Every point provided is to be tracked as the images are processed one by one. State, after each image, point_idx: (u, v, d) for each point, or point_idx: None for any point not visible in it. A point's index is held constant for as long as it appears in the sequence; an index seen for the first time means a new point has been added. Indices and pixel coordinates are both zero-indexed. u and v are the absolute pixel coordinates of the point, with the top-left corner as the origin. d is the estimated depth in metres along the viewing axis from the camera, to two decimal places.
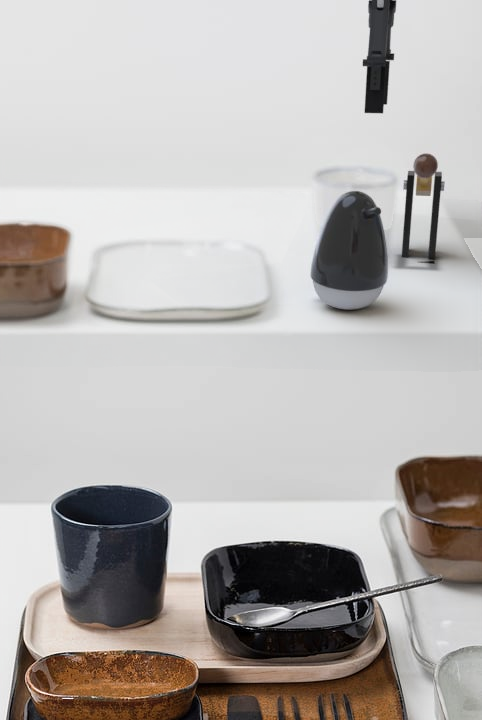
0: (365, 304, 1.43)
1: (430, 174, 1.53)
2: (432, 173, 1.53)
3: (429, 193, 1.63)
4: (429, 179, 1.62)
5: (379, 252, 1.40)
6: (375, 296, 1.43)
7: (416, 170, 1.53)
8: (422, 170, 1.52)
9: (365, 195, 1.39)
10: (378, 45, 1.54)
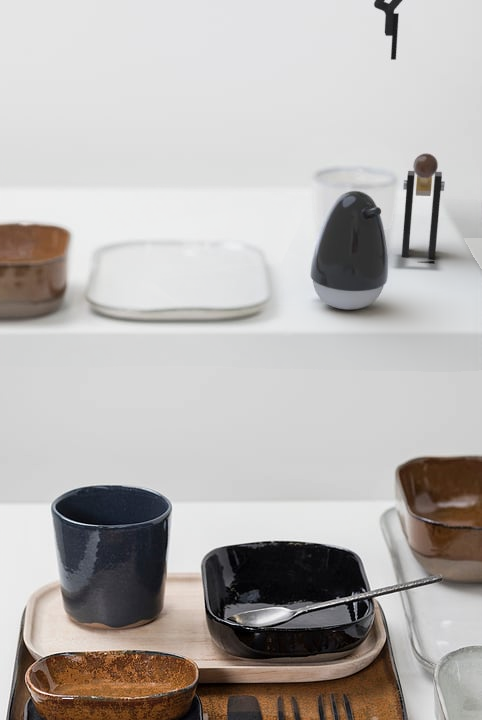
0: (365, 304, 1.43)
1: (430, 174, 1.53)
2: (432, 173, 1.53)
3: (429, 193, 1.63)
4: (429, 179, 1.62)
5: (379, 252, 1.40)
6: (375, 296, 1.43)
7: (416, 170, 1.53)
8: (422, 170, 1.52)
9: (365, 195, 1.39)
10: None
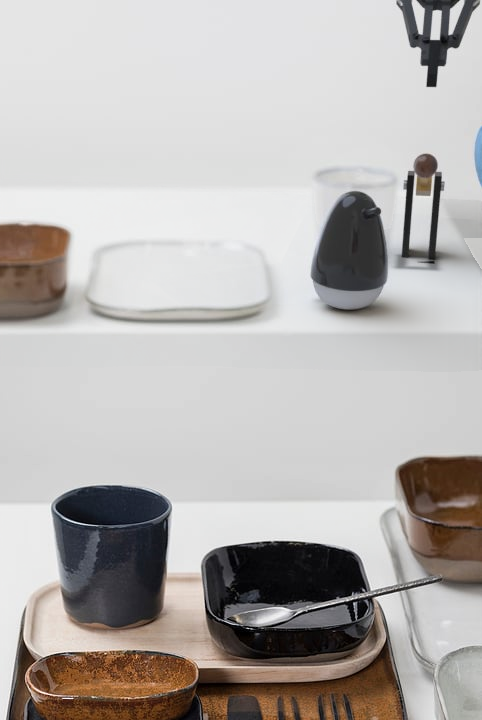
0: (365, 304, 1.43)
1: (430, 174, 1.53)
2: (432, 173, 1.53)
3: (429, 193, 1.63)
4: (429, 179, 1.62)
5: (379, 252, 1.40)
6: (375, 296, 1.43)
7: (416, 170, 1.53)
8: (422, 170, 1.52)
9: (365, 195, 1.39)
10: (408, 31, 1.64)
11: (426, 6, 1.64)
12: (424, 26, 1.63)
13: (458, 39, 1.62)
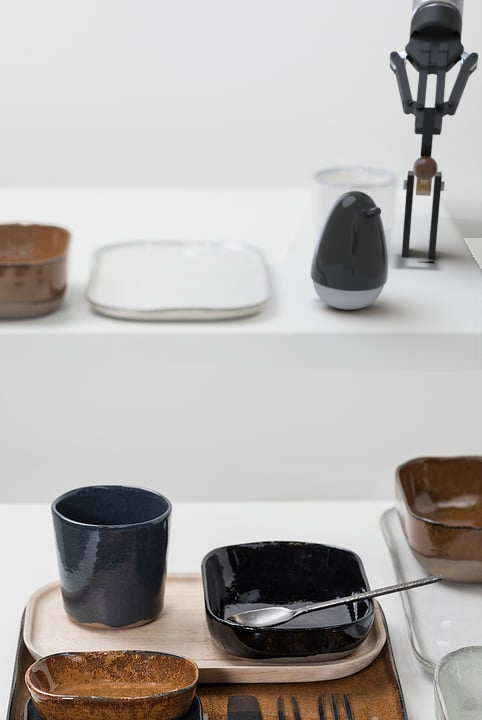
0: (365, 304, 1.43)
1: (430, 177, 1.53)
2: (432, 176, 1.53)
3: (429, 193, 1.63)
4: (429, 179, 1.62)
5: (379, 252, 1.40)
6: (375, 296, 1.43)
7: (416, 173, 1.53)
8: (422, 173, 1.52)
9: (365, 195, 1.39)
10: (402, 96, 1.57)
11: (420, 71, 1.57)
12: (418, 92, 1.56)
13: (454, 106, 1.55)
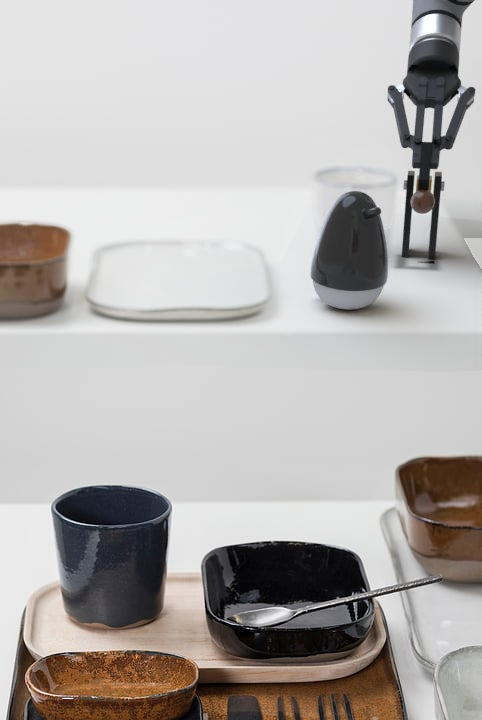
0: (365, 304, 1.43)
1: (427, 212, 1.55)
2: None
3: None
4: (429, 184, 1.62)
5: (379, 252, 1.40)
6: (375, 296, 1.43)
7: (413, 208, 1.55)
8: (419, 211, 1.54)
9: (365, 195, 1.39)
10: (399, 130, 1.58)
11: (418, 105, 1.58)
12: (416, 127, 1.57)
13: (451, 141, 1.56)
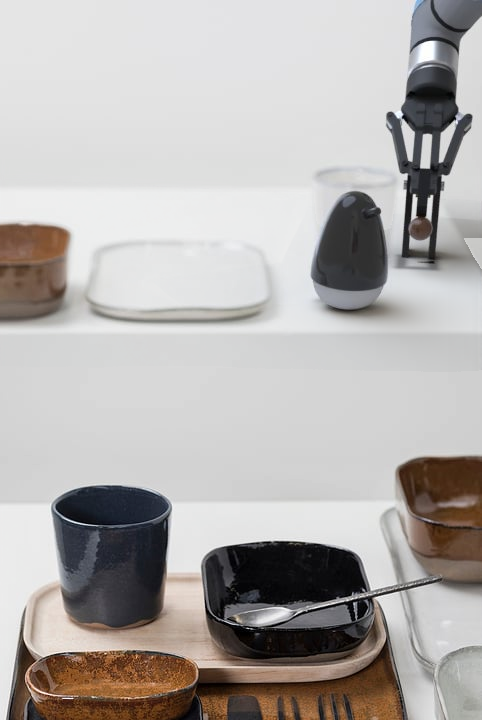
0: (365, 304, 1.43)
1: None
2: None
3: None
4: None
5: (379, 252, 1.40)
6: (375, 296, 1.43)
7: (411, 236, 1.58)
8: (417, 239, 1.57)
9: (365, 195, 1.39)
10: (397, 156, 1.61)
11: (416, 131, 1.61)
12: (414, 153, 1.59)
13: (449, 167, 1.58)
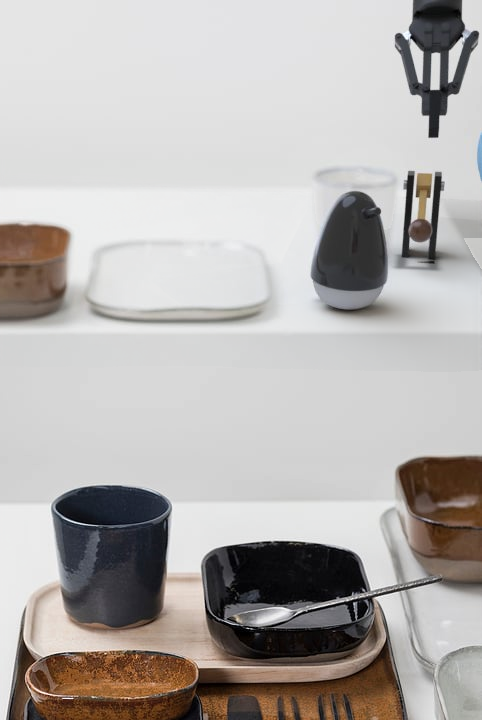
0: (365, 304, 1.43)
1: None
2: (427, 239, 1.58)
3: None
4: (428, 188, 1.62)
5: (379, 252, 1.40)
6: (375, 296, 1.43)
7: (411, 238, 1.58)
8: (416, 241, 1.58)
9: (365, 195, 1.39)
10: (408, 78, 1.66)
11: (425, 52, 1.65)
12: (424, 75, 1.64)
13: (458, 87, 1.64)
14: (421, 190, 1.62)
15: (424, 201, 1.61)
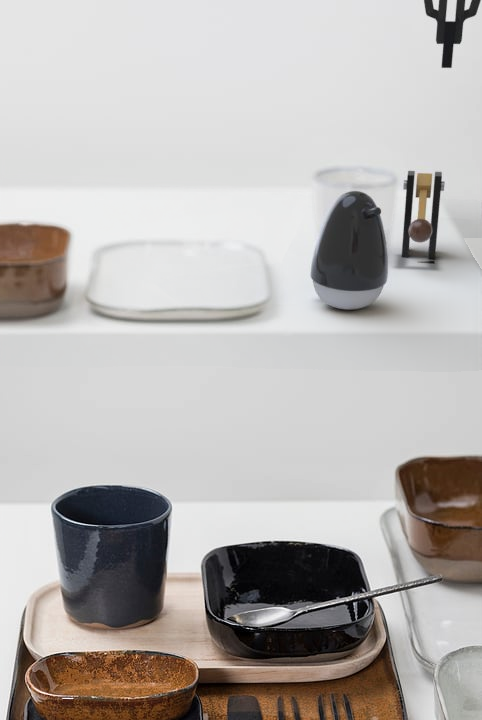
0: (365, 304, 1.43)
1: None
2: (427, 239, 1.58)
3: None
4: (428, 188, 1.62)
5: (379, 252, 1.40)
6: (375, 296, 1.43)
7: (411, 238, 1.58)
8: (416, 241, 1.58)
9: (365, 195, 1.39)
10: None
11: None
12: (440, 2, 1.61)
13: (474, 15, 1.61)
14: (421, 190, 1.62)
15: (424, 201, 1.61)
